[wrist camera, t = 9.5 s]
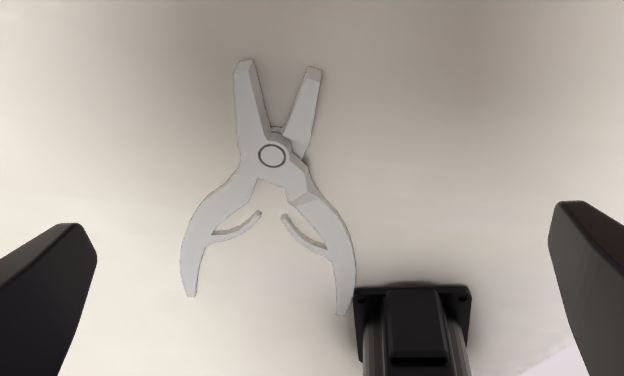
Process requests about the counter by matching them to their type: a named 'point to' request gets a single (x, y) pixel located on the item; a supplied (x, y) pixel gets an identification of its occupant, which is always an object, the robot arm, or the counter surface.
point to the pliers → (277, 170)
